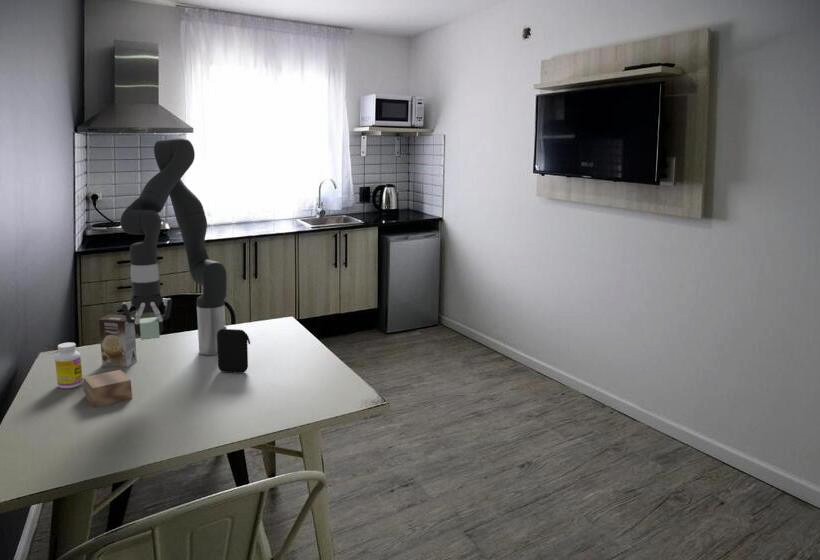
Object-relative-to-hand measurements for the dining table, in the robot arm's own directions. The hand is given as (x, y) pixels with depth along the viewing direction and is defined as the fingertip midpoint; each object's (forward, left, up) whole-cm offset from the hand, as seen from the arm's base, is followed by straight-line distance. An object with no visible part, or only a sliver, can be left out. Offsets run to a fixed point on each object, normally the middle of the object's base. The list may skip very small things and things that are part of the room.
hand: (149, 333), depth 174 cm
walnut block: (+12, +2, -17) cm, 21 cm away
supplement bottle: (+22, -12, -17) cm, 31 cm away
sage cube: (0, 0, -1) cm, 1 cm away
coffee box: (+8, -26, -17) cm, 32 cm away
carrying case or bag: (-25, -3, -17) cm, 30 cm away
